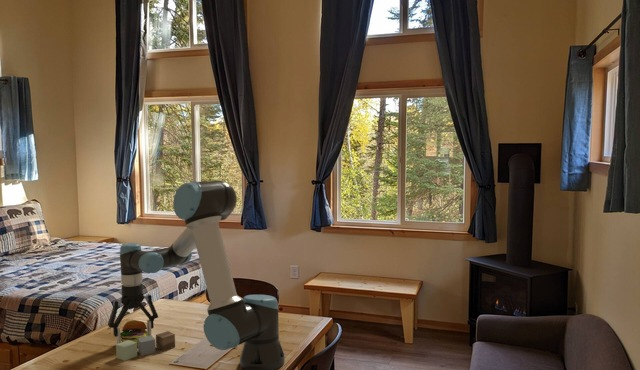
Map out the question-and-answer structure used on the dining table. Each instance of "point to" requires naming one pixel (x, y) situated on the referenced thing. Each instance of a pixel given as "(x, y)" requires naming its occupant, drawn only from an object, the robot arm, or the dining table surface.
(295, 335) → the dining table surface
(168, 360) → the dining table surface
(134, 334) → the cheeseburger
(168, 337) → the walnut block
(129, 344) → the sage block
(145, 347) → the slate block
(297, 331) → the dining table surface
